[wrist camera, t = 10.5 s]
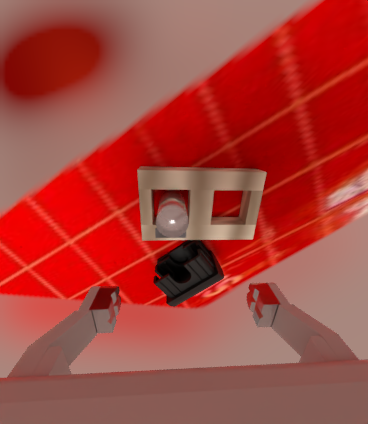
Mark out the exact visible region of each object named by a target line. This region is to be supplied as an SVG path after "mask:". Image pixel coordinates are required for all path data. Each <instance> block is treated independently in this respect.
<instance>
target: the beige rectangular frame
mask: <svg viewBox="0 0 368 424" xmlns="http://www.w3.org/2000/svg"><path fill="white" fill-rule="evenodd" d="M137 172H138V186H139V200H140V214H141V229H142V240H239V239H253V236H254V231H255V226H256V222H257V217H258V212H259V207H260V202H261V197H262V193H263V188H264V183H265V178H266V173H267V172H265V171H262V170H259V169H243V168H195V167H146V166H141V167H140V168H139V169H138V170H137ZM153 189H156V190H189V191H188V215H187V216H188V220H189V225H188V228H187V230H186V232H185V233H184V234H182V235H181V236H178V237H174V238H170V237H166V236H164V235H162V234H161V233H160V232H159V231H158V229H157V227H156V219H157V217H154V196H153ZM214 190H243V195H242V201H241V207H240V213H239V217H211V216H212V206H213V196H214Z"/></svg>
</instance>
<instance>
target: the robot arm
mask: <svg viewBox="0 0 368 424" xmlns="http://www.w3.org/2000/svg"><path fill="white" fill-rule="evenodd" d="M249 290H250V292H248V294H247V303H248V307H249V309H250V310H251V311H252V312H253V318H254V320H255V322H256V324H257V327H272V329H273V330H274V331H276V332H277V333H278V334H279V335H280V336H281V337H282V338H283V339H284V340H285V341H286V342H287V343H288V344H289V345H290V346H291V347H292V348H293V349H294V350H295V351H296V352H297V353H298V354H299V355H300V356H301V359H300V361H299V363H286V364H267V365H249V366H248V365H247V366H230V367H229V366H227V367H208V368H189V369H170V370H150V371H132V372H131V371H130V372H111V373H90V374H71V371H70V369H69V365H70V364H71V363H72V362H73V361H74V360H75V359H76V358H77V356H78V355H79V354H80V353H81V352H82V351H83V350H84V348H85V347H86V346H87V345H88V344H89V343H90V342H91V341H92V339H93V338H94V337H95V336H96V335H97V333H110V332H113V330H114V327H115V324H116V316H117V315H118V313H119V310H120V305H121V297H120V296H119V295H118V294H119V287H118V286H101V287H99V286H93V287H91V288H90V290H89V292H88V294H87V295H86V297H85V299H84V301H83V303H82V305H81V306H80V308H79V310H78V311H74V312H73V313H72V314H71V315H69V316H68V317H67V318H65V319H64V320H63V321H61V322H60V323H59V324H57V325H56V326H55V327H54V328H52V329H51V330H50V331H48V332H47V333H46V334H44V335H43V336H42V337H40V338H39V339H38V340H36V341H35V342H34V343H33V344H31V345H30V346H29V347H28V348H27V350H26V351H25V353H24V354H23V355H22V357H21V358H20V360H19V361H18V362H17V364H16V365H15V367H14V368H13V370H12V372H11V373H10V374H9V375H8V377H7V378H0V424H368V359H365V360H359V359H358V358H357V357H356V356H355V354H354V353H353V352H352V351H351V349H350V348H349V347H348V346H347V345H346V343H345V342H344V341H343V340H342V339H341V337H340V336H339V335H338V334H337V333H335V332H334V331H332V330H331V329H329V328H327V327H326V326H325V325H323V324H322V323H320V322H319V321H317V320H316V319H314V318H312V317H311V316H309V315H308V314H306V313H305V312H303V311H302V310H300V309H299V308H297V307H296V306H294V305H291V304H290V303H289V302H288V300H287V299H286V298H285V296H284V295H283V293H282V292H281V291H280V289H279V288H278V286H277V285H276V284H275V283H251V284H250V285H249Z"/></svg>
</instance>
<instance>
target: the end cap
mask: <svg viewBox="0 0 368 424" xmlns="http://www.w3.org/2000/svg"><path fill="white" fill-rule="evenodd" d="M157 263H158V264H157V265H156V267H155V272H156V273H157V274H158V275H159V276H160V277H161V279H159V278H158V277H157V276H155V277H154V284H155V285H156V286H157V287H158V288H160V289H161V290H162V291H163V292H164V293H165V294H166V295H167V304H168V305H170V306H177V305H178V304H180V303H182V302H183V301H185V300H187V299H189V298H190V297H192V296H194V295H196V294H197V293H199V292H201V291H203V290H204V289H206V288H208V287H210V286H211V285H213V284H215V283H216V282H218V281H220V280H222V279H223V278H224V274H223V271H222V268H221V266H220V264H219V263H218V261H217V259H216V258H215V256H214V255H213V253H212V252H211V251H208V249H207V248H206V247H205V246H204V244H203V243H202V242H201V241H200V240H187V241H186V242H184V243H183V244H181V245H180V246H178V247H176V248H175V249H173V250H172V251H170V252H169V253H167V254H166V255H164V256H163V257H161V258H159V259H158V262H157Z"/></svg>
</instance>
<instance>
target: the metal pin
mask: <svg viewBox="0 0 368 424" xmlns="http://www.w3.org/2000/svg"><path fill="white" fill-rule="evenodd" d="M188 225H189V220H188V216H187V211H186V206H185V202H184V198H183V195H182V194H181V193H180V192H179V191H177V190H167V191H165V192H164V193H163V194H162V195H161V197H160V201H159V207H158V213H157V219H156V227H157V229H158V231H159V232H160V233H161V234H162V235H164V236H166V237H170V238H174V237H178V236H181V235H182V234H184V233H185V232H186V230H187V228H188Z"/></svg>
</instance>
